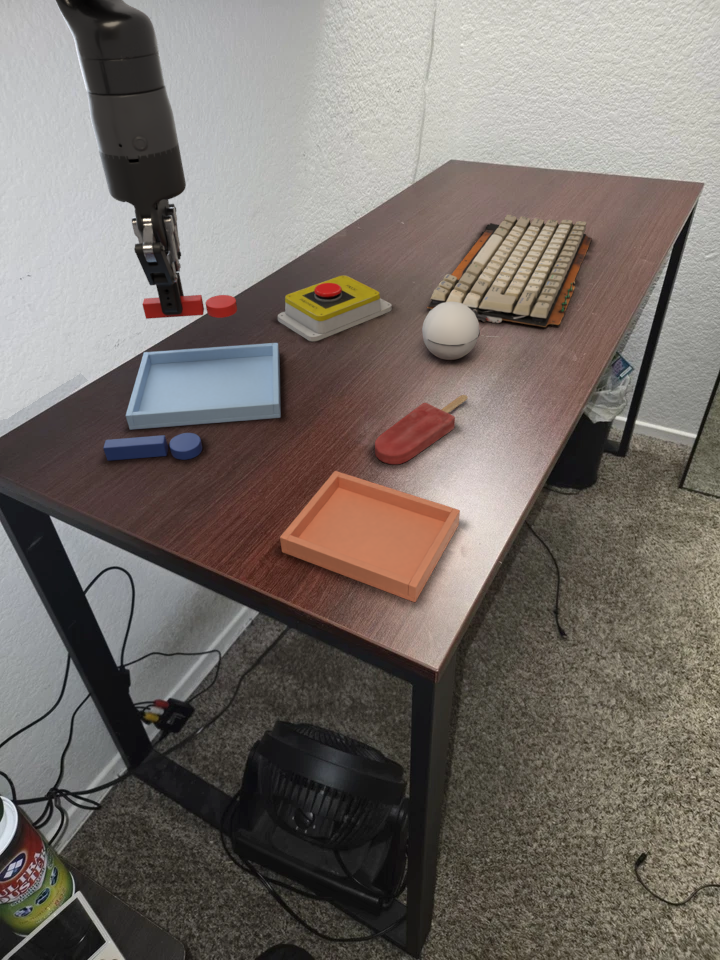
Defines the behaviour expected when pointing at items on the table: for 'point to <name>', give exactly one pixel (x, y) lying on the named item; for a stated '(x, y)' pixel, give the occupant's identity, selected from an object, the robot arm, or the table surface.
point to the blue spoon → (153, 447)
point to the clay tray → (372, 534)
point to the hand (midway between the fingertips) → (174, 308)
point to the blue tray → (206, 386)
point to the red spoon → (194, 306)
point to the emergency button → (331, 307)
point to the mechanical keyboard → (518, 271)
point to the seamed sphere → (451, 330)
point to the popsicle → (415, 432)
